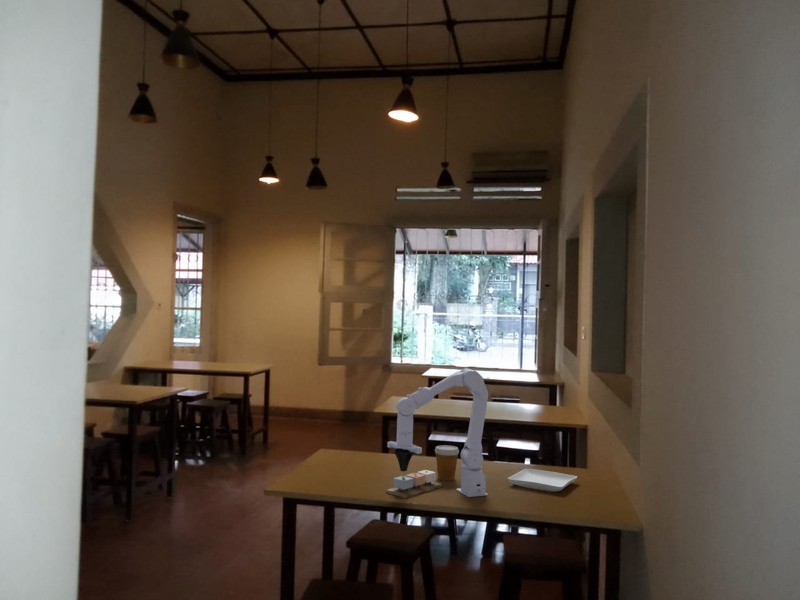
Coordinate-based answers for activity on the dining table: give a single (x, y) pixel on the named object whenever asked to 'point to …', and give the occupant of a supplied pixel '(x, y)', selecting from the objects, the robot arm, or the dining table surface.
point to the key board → (414, 489)
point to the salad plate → (542, 480)
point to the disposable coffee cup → (446, 461)
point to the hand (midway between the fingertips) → (403, 470)
